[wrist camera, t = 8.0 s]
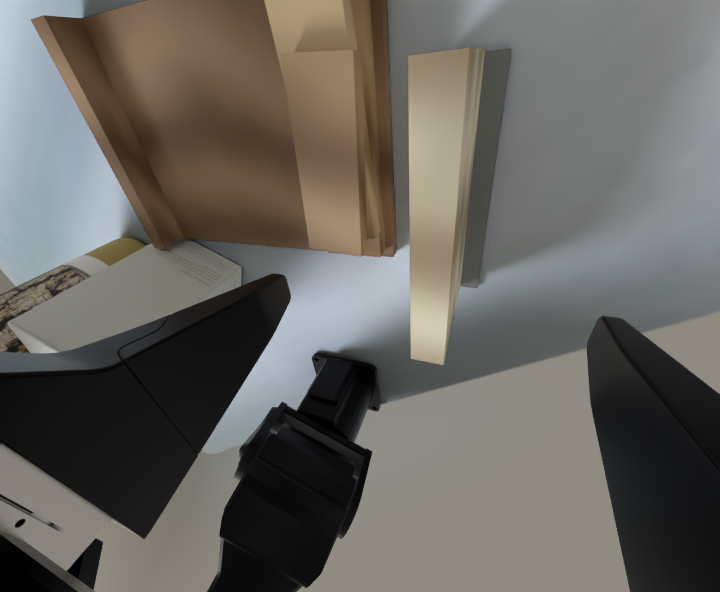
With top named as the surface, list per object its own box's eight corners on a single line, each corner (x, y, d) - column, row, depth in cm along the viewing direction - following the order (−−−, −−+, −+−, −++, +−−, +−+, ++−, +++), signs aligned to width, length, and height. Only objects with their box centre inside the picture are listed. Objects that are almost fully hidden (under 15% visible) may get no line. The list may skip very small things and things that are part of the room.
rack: (396, 251, 21) (384, 273, 19) (181, 233, 27) (154, 248, 25) (384, -59, 13) (360, -81, 10) (82, 22, 19) (30, 19, 17)
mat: (477, 285, 20) (477, 288, 20) (415, 278, 21) (414, 280, 21) (511, 48, 13) (511, 48, 13) (416, 60, 14) (414, 61, 14)
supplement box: (172, 228, 27) (-1, 319, 18) (245, 266, 27) (105, 379, 18) (179, 286, 32) (47, 381, 23) (241, 319, 32) (131, 430, 23)
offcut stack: (388, 249, 20) (373, 274, 18) (330, 245, 21) (310, 267, 19) (372, -44, 12) (342, -65, 10) (284, -22, 14) (241, -35, 12)
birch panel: (460, 284, 20) (443, 365, 15) (435, 281, 21) (410, 358, 16) (485, 48, 13) (469, 47, 8) (445, 54, 14) (408, 55, 9)
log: (150, 233, 29) (-478, 554, 10) (187, 293, 33) (-230, 607, 14) (107, 235, 32) (-455, 492, 13) (145, 290, 35) (-252, 551, 17)
